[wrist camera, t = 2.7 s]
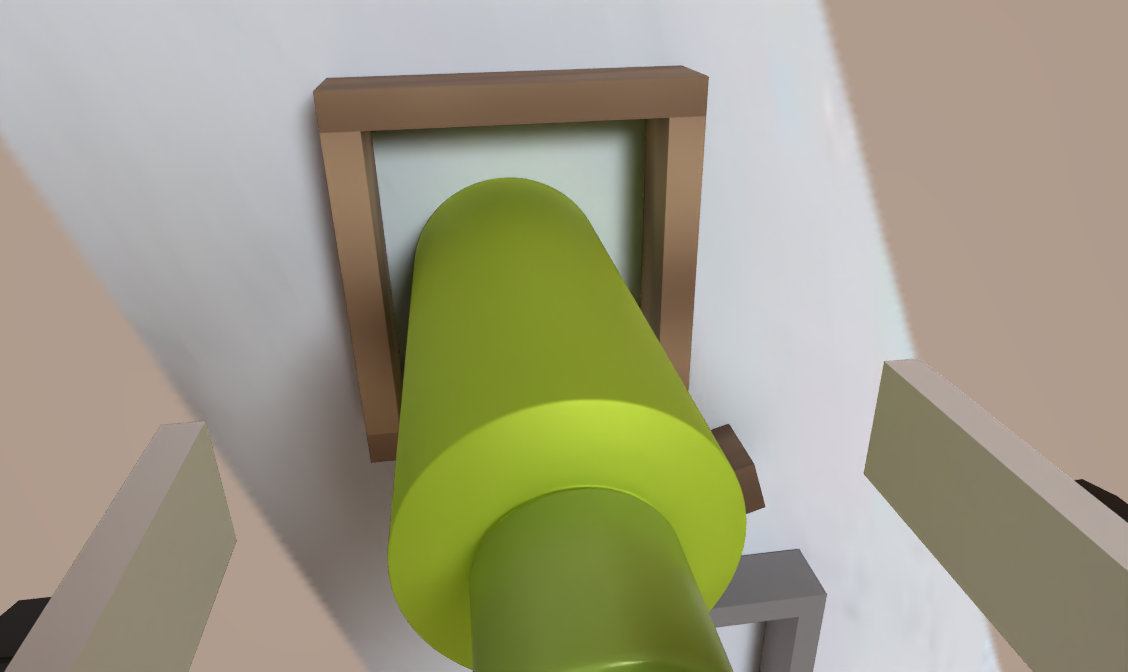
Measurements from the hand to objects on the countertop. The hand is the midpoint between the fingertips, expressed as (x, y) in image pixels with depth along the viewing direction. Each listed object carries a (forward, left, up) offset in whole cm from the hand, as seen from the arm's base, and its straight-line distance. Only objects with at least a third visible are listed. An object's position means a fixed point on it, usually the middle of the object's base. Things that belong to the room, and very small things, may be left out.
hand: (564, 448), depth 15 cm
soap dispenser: (0, 0, -10) cm, 10 cm away
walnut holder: (0, 0, -10) cm, 10 cm away
